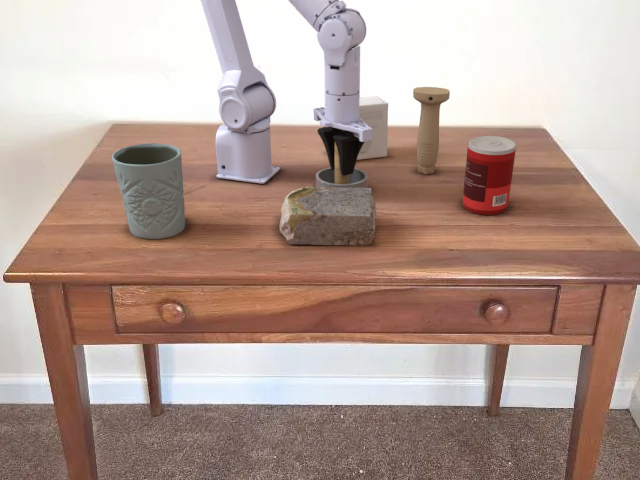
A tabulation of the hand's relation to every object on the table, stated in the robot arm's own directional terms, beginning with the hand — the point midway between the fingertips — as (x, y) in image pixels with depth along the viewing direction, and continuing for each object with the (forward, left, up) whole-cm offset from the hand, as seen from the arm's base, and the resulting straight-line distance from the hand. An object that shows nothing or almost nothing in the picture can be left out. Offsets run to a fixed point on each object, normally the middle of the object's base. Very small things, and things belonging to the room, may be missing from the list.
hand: (341, 171), depth 128 cm
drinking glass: (-23, -23, -4) cm, 33 cm away
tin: (0, 0, -4) cm, 4 cm away
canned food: (+25, +2, -4) cm, 25 cm away
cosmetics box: (-3, +20, -4) cm, 20 cm away
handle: (+12, +15, -4) cm, 19 cm away
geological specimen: (+3, -16, -4) cm, 17 cm away
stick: (0, 0, -3) cm, 3 cm away
